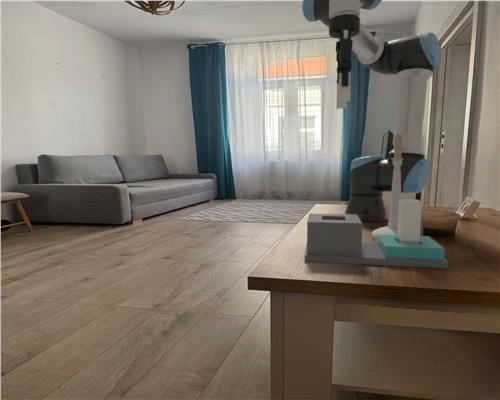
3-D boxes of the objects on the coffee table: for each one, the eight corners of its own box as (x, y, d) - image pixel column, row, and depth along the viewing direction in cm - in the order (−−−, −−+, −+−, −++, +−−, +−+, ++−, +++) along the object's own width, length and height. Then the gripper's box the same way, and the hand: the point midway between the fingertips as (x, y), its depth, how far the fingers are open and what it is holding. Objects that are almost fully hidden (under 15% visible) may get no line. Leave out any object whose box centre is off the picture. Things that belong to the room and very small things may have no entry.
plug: (400, 253, 83) (402, 201, 82) (396, 248, 87) (398, 199, 85) (422, 254, 82) (425, 201, 81) (418, 249, 86) (420, 199, 85)
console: (304, 261, 83) (304, 222, 81) (307, 246, 96) (307, 212, 95) (447, 268, 77) (450, 226, 76) (428, 251, 90) (430, 215, 89)
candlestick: (391, 242, 99) (395, 131, 95) (362, 233, 111) (365, 134, 107) (428, 239, 103) (434, 131, 100) (396, 230, 115) (400, 134, 112)
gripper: (365, -5, 78) (363, 97, 81) (355, 33, 102) (353, 110, 105) (330, -2, 80) (328, 98, 82) (328, 35, 104) (327, 111, 106)
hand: (342, 105), depth 94 cm, fingers open, 13 cm apart
